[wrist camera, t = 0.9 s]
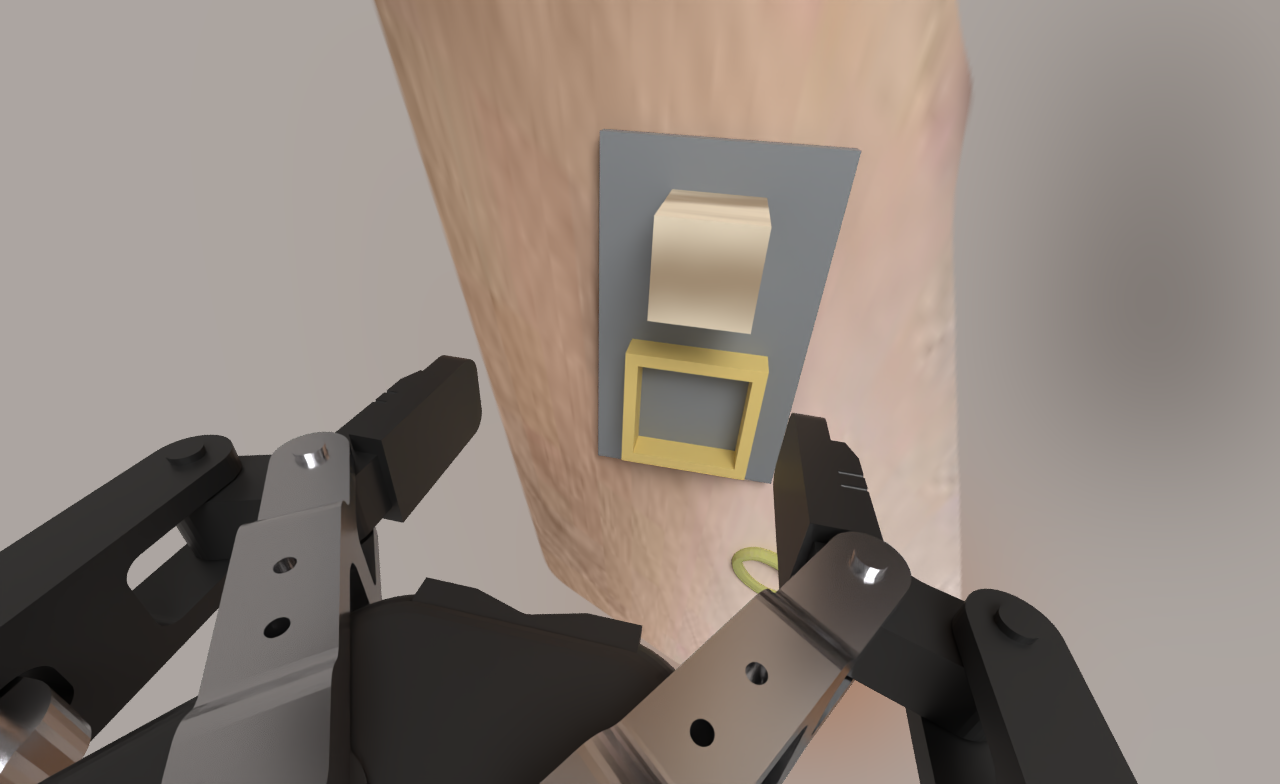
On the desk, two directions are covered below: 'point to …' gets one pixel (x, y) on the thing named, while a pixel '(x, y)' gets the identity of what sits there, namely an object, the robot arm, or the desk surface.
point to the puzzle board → (698, 357)
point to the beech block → (708, 260)
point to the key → (757, 555)
